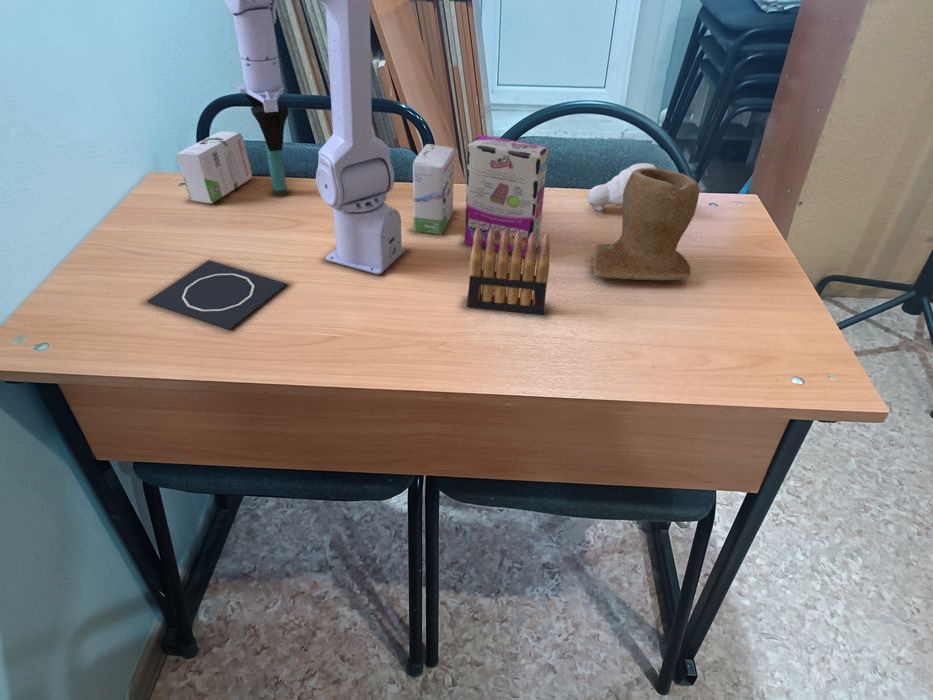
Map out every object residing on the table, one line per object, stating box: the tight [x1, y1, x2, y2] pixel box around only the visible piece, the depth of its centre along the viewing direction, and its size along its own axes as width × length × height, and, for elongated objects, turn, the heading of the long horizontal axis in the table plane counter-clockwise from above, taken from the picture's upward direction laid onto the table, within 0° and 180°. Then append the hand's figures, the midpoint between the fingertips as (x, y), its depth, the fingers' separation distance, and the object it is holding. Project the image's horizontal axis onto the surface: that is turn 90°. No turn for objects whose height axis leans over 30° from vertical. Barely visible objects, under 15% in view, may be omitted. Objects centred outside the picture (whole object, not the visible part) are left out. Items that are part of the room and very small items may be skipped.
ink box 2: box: [412, 143, 455, 235], centre depth 105 cm, size 8×5×12 cm, turn 168°
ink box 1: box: [175, 131, 253, 204], centre depth 113 cm, size 9×5×12 cm
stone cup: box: [592, 168, 701, 281], centre depth 95 cm, size 15×12×15 cm
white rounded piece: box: [587, 162, 657, 214], centre depth 112 cm, size 6×8×12 cm
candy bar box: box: [464, 134, 550, 258], centre depth 99 cm, size 11×5×16 cm, turn 68°
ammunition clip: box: [466, 227, 551, 316], centre depth 86 cm, size 11×2×12 cm, turn 83°
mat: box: [147, 260, 288, 331], centre depth 90 cm, size 14×12×1 cm
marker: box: [265, 143, 288, 197], centre depth 113 cm, size 2×2×9 cm
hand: (272, 141), depth 110 cm, fingers open, 7 cm apart
